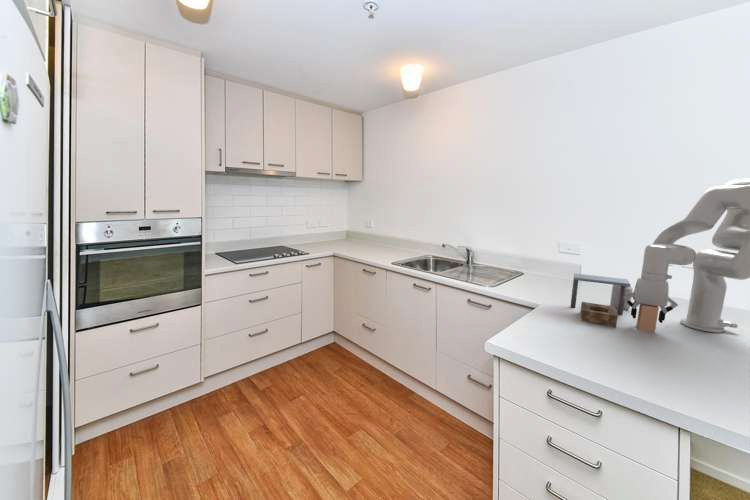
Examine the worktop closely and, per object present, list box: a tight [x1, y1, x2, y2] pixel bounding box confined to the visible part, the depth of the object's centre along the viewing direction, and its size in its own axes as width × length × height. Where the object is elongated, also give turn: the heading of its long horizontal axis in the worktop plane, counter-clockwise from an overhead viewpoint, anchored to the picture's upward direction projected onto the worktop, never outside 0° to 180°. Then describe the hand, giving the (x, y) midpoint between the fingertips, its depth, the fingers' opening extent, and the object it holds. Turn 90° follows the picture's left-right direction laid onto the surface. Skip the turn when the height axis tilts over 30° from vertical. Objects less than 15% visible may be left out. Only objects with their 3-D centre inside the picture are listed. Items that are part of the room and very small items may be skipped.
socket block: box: [580, 301, 619, 328], centre depth 139 cm, size 12×13×5 cm
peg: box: [636, 304, 660, 333], centre depth 129 cm, size 5×5×10 cm
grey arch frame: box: [569, 272, 631, 316], centre depth 145 cm, size 20×9×16 cm, turn 59°
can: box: [609, 283, 634, 311], centre depth 153 cm, size 8×8×12 cm
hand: (646, 319), depth 129 cm, fingers open, 7 cm apart
